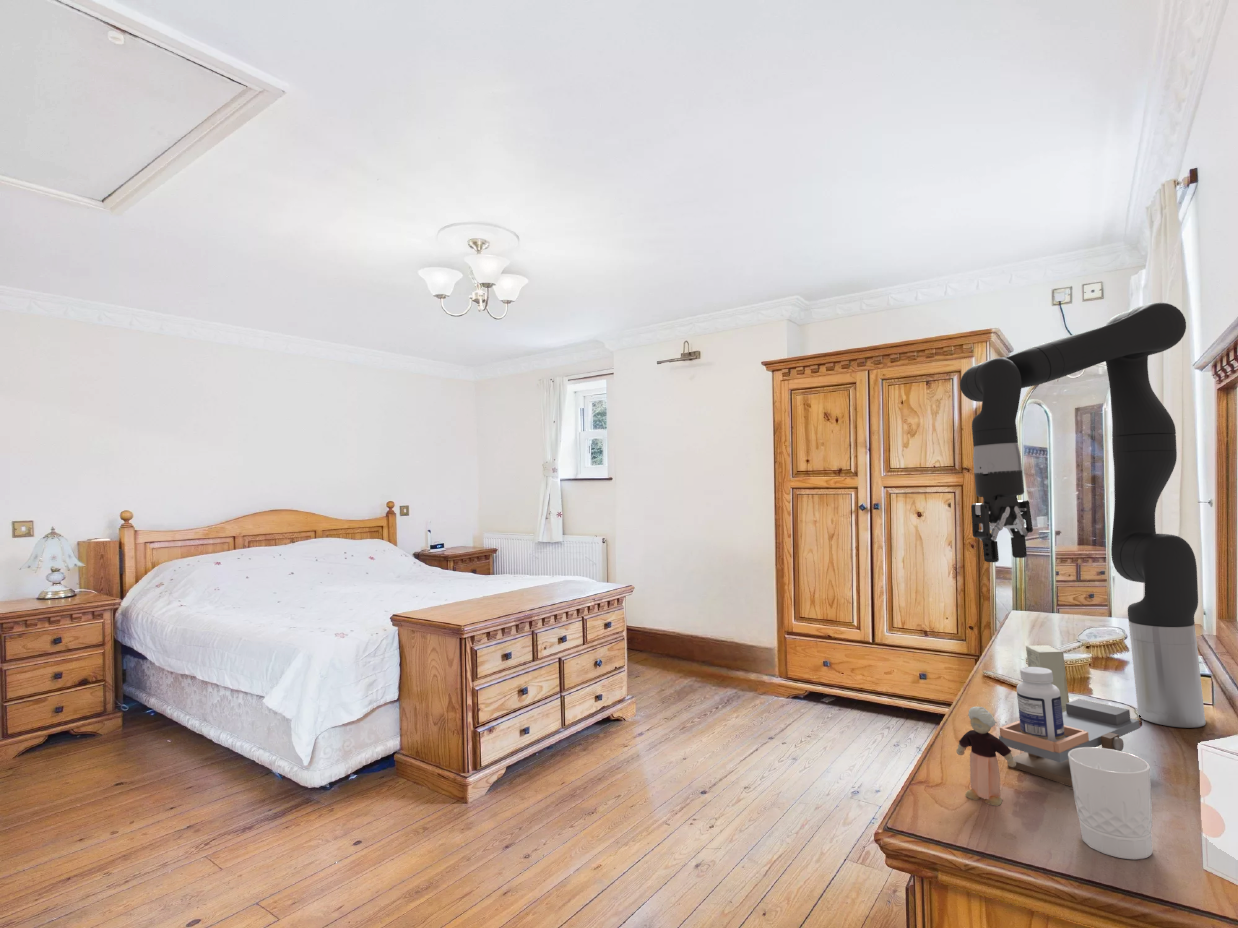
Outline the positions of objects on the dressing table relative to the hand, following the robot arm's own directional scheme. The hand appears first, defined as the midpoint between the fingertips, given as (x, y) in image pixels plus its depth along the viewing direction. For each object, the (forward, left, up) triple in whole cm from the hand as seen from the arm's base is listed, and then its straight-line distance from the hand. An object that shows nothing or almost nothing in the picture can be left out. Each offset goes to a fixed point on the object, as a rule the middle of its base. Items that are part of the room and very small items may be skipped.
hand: (1005, 559), depth 116 cm
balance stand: (+11, +14, -30) cm, 35 cm away
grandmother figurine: (+29, +12, -30) cm, 44 cm away
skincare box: (-13, -2, -30) cm, 33 cm away
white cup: (+28, +27, -30) cm, 49 cm away
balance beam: (+11, +14, -24) cm, 30 cm away
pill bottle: (+18, +14, -24) cm, 33 cm away
